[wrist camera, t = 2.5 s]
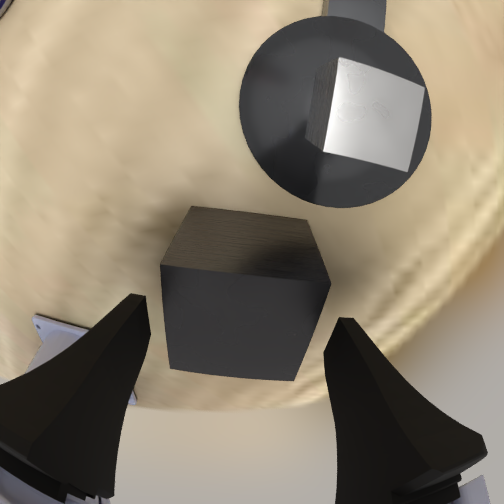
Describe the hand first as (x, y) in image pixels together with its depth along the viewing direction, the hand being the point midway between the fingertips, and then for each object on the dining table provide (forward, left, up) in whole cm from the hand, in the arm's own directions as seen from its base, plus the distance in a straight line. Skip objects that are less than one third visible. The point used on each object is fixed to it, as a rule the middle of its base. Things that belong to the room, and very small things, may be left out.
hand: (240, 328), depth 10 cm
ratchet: (+14, -3, -5) cm, 15 cm away
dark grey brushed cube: (0, 0, -5) cm, 5 cm away
